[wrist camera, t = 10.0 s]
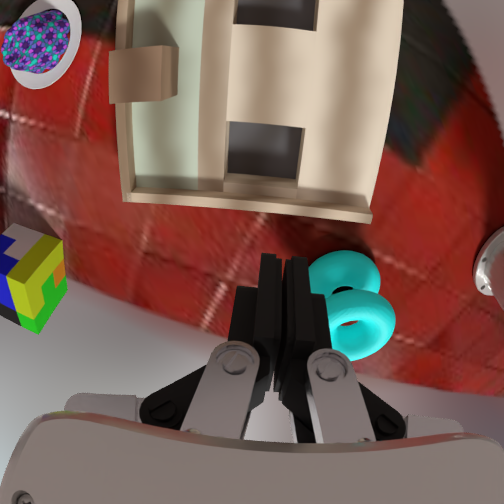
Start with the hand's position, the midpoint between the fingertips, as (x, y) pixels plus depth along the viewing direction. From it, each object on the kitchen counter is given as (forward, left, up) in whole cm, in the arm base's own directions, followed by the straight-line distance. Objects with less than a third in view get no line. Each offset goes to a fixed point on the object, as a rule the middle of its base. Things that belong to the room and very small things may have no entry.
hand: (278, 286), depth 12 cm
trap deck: (+2, -7, -22) cm, 23 cm away
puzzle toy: (+34, +18, -22) cm, 44 cm away
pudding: (+27, -13, -22) cm, 37 cm away
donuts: (-10, +16, -22) cm, 29 cm away
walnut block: (+11, -7, -19) cm, 23 cm away
